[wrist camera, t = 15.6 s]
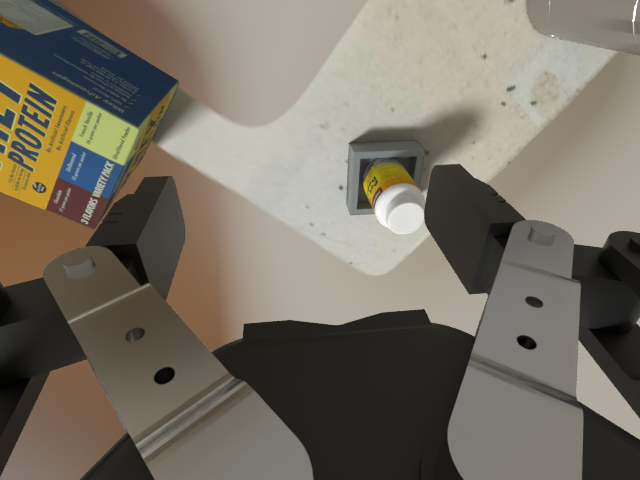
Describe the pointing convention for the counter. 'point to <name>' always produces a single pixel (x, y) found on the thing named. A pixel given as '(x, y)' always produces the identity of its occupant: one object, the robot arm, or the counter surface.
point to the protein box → (71, 111)
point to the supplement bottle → (394, 195)
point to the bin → (368, 152)
